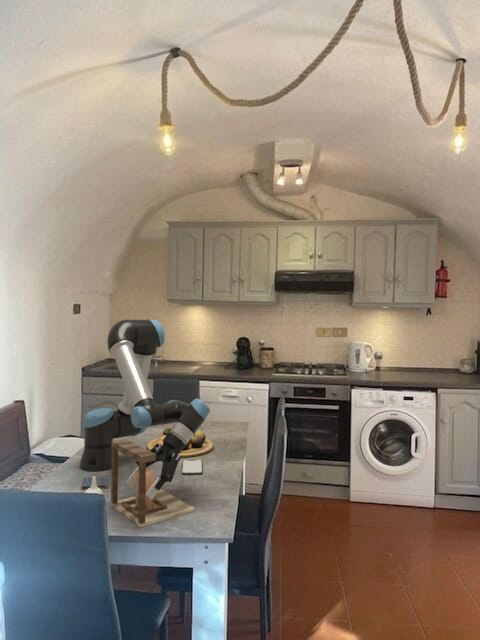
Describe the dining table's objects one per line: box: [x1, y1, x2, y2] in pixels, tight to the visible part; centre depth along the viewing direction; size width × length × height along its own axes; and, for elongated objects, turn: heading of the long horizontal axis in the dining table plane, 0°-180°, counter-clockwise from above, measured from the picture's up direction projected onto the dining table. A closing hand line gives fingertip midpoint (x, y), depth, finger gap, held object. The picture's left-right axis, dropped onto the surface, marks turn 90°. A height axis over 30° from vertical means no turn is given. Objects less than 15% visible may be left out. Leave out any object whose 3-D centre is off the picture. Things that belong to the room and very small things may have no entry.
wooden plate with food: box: [145, 426, 214, 459], centre depth 238 cm, size 32×32×8 cm
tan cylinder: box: [134, 468, 155, 510], centre depth 165 cm, size 6×6×12 cm
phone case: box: [180, 459, 204, 476], centre depth 208 cm, size 9×2×16 cm
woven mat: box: [80, 475, 111, 491], centre depth 188 cm, size 10×11×2 cm
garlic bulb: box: [84, 476, 104, 495], centre depth 174 cm, size 6×6×8 cm
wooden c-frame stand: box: [110, 438, 195, 528], centre depth 167 cm, size 21×20×22 cm
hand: (138, 490), depth 164 cm, fingers open, 13 cm apart
